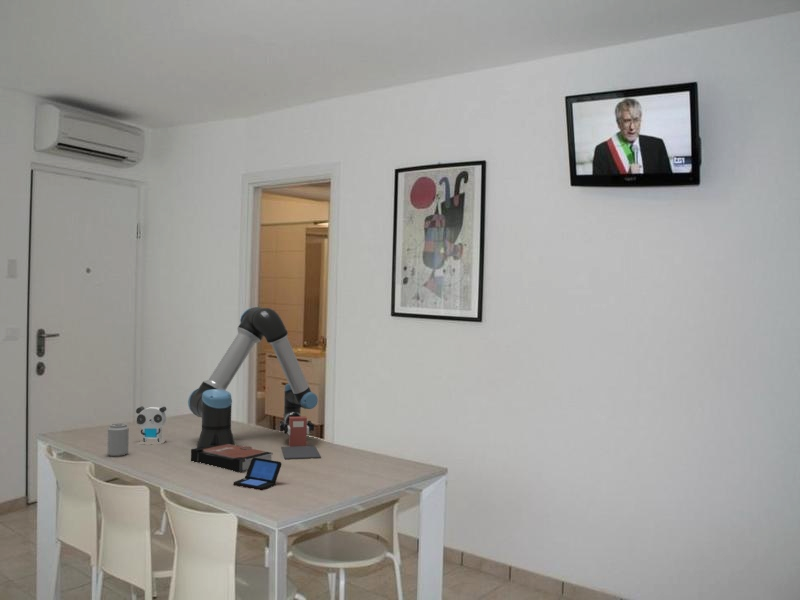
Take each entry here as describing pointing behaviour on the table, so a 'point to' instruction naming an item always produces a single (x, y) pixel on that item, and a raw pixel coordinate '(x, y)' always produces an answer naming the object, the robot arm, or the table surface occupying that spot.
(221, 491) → the table surface
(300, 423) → the box
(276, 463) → the handheld game console
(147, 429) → the panda figurine
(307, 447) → the mat
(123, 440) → the can
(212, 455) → the book
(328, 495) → the table surface
